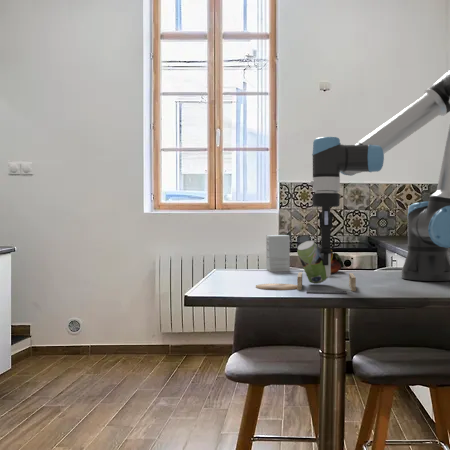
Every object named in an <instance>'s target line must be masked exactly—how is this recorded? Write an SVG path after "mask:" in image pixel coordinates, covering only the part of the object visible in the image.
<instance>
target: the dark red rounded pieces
mask: <svg viewBox="0 0 450 450" xmlns="http://www.w3.org/2000/svg"><path fill="white" fill-rule="evenodd" d="M318 248H319V250H320V251H321V246H320V247H319V246H318ZM331 251H333V250H332V249H331ZM330 254H331V274H333V273H334V274H335V273H337V272H339V271H340V270H341V269H342V268H344V267H345V264H344V263H343V261H342V258H341V257H340V255H339V253H337V252H334V251H333V253H330Z"/></svg>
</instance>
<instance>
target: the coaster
mask: <svg viewBox="0 0 450 450" xmlns="http://www.w3.org/2000/svg"><path fill="white" fill-rule="evenodd" d="M255 288H256V289H260V290H265V291H266V290H267V291H289V290H290V291H292V290H297V284H294V283H293V284H292V283H261V284H257V285H255Z"/></svg>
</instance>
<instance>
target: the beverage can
mask: <svg viewBox="0 0 450 450" xmlns="http://www.w3.org/2000/svg"><path fill="white" fill-rule="evenodd" d="M318 247H319V245H318V244H317V243H316V242H315V241H314V240H306V241H303V242H302V243H300V244H299V245H298V246H297V252H296V254H297V256H298V258H299V261H300V263H301V265H302V267H303V271H304V272H305V275H306V277H307V279H308V282H309V283H311V284H317V285H318V284H321V283H324V282H325V281H326V280H327V279H328V277H326V269H325V265H323V258H322V255H321V253H320V250H319V248H318Z"/></svg>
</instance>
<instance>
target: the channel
mask: <svg viewBox="0 0 450 450" xmlns="http://www.w3.org/2000/svg"><path fill="white" fill-rule="evenodd" d="M354 274H355V273H352V272H349V273H348V286H349V289H350V288H351V289H350V290H351V292H356V290H357V289H356V288H357V286H356V282H357V281H356V276H355V275H354ZM296 277H297V278H296V279H297V283H296V285H297V289H296V290H297V291H302V288H303V271H302V272H300V271H299V272H298V273H297V276H296Z"/></svg>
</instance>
